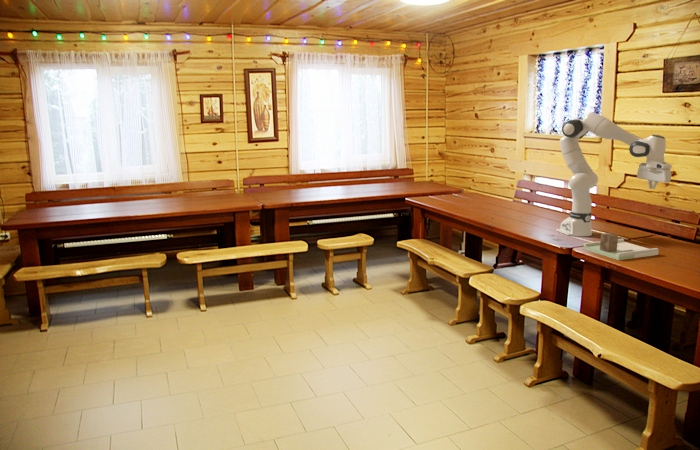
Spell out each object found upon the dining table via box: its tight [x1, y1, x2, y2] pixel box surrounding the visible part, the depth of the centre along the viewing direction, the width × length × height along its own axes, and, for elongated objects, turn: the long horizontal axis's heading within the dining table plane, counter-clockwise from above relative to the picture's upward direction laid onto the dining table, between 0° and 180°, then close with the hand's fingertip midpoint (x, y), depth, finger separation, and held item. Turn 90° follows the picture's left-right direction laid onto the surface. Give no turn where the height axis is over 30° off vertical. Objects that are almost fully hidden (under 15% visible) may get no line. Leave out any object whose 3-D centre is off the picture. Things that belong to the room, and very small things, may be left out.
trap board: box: [583, 238, 659, 261], centre depth 319 cm, size 25×28×4 cm
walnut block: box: [599, 232, 619, 252], centre depth 314 cm, size 6×6×9 cm
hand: (651, 188), depth 328 cm, fingers closed
